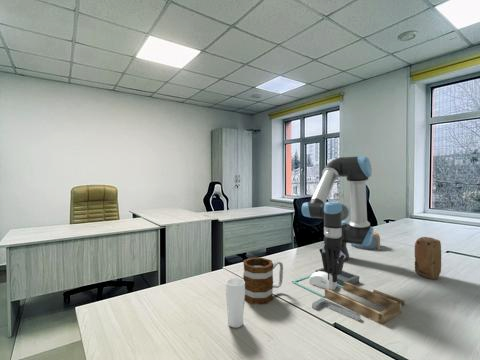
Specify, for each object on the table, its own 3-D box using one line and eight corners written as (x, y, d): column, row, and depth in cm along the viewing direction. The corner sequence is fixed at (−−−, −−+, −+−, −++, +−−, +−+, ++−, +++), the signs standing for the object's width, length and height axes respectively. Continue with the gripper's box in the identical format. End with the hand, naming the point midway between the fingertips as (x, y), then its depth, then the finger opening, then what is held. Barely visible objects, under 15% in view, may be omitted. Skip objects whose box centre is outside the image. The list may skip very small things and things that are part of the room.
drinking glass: (225, 319, 92) (225, 278, 91) (244, 318, 92) (244, 277, 92) (226, 330, 85) (226, 286, 85) (246, 329, 85) (246, 285, 85)
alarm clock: (385, 250, 178) (385, 233, 178) (356, 250, 178) (357, 233, 178) (371, 243, 197) (371, 227, 197) (345, 243, 197) (346, 227, 197)
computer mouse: (333, 291, 114) (333, 277, 114) (306, 283, 123) (306, 270, 122) (338, 286, 119) (338, 273, 119) (312, 279, 127) (312, 267, 127)
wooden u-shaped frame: (324, 297, 108) (324, 289, 108) (344, 288, 116) (344, 281, 116) (381, 324, 88) (382, 314, 88) (401, 312, 96) (401, 303, 96)
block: (442, 279, 128) (443, 240, 128) (432, 281, 125) (433, 241, 125) (421, 271, 138) (421, 235, 138) (411, 273, 136) (412, 236, 135)
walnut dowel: (372, 291, 111) (374, 288, 112) (373, 295, 112) (375, 292, 113) (402, 302, 101) (404, 299, 102) (402, 306, 102) (405, 303, 103)
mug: (251, 307, 100) (251, 270, 99) (237, 293, 112) (237, 259, 112) (291, 297, 108) (291, 263, 108) (274, 285, 120) (274, 254, 120)
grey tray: (315, 275, 132) (315, 270, 132) (329, 271, 138) (329, 265, 138) (345, 288, 117) (345, 281, 117) (359, 282, 124) (359, 276, 124)
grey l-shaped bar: (312, 307, 100) (312, 303, 100) (321, 302, 104) (321, 298, 104) (351, 326, 87) (351, 321, 87) (360, 319, 92) (360, 314, 92)
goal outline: (291, 282, 124) (291, 281, 124) (313, 275, 133) (313, 274, 133) (323, 297, 108) (323, 296, 108) (345, 288, 117) (345, 287, 117)
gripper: (315, 234, 116) (315, 285, 117) (340, 240, 106) (340, 296, 106) (325, 232, 121) (325, 281, 121) (350, 238, 110) (350, 291, 110)
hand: (332, 288), depth 114 cm, fingers closed
